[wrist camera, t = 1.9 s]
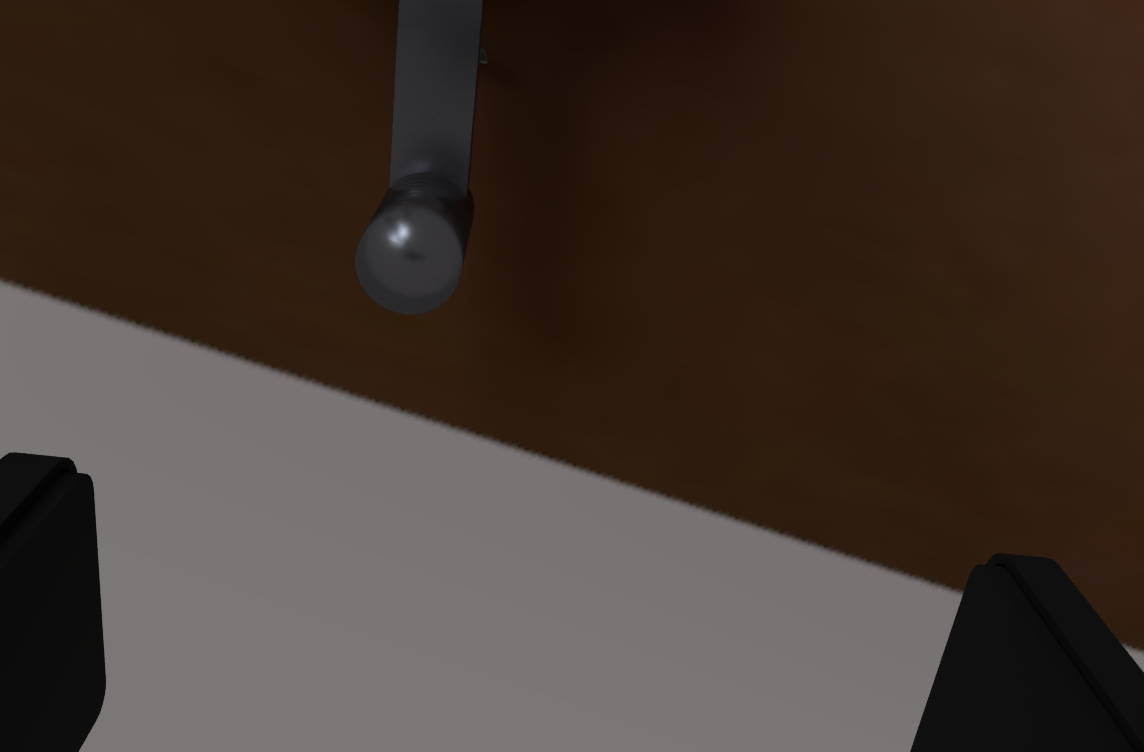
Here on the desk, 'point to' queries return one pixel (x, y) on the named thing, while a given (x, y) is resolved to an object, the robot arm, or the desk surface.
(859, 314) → the desk surface
